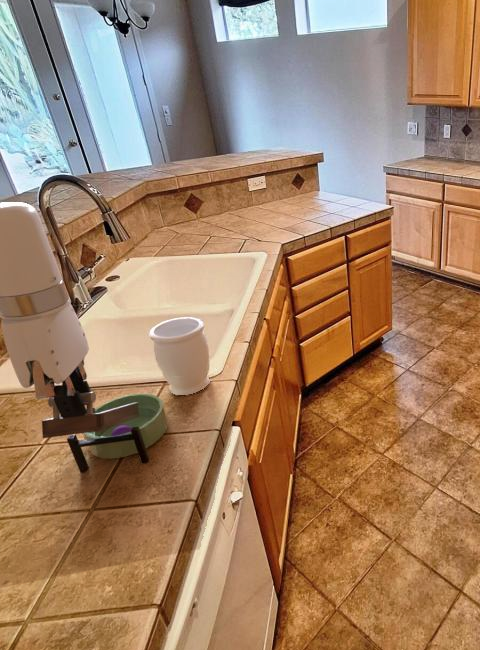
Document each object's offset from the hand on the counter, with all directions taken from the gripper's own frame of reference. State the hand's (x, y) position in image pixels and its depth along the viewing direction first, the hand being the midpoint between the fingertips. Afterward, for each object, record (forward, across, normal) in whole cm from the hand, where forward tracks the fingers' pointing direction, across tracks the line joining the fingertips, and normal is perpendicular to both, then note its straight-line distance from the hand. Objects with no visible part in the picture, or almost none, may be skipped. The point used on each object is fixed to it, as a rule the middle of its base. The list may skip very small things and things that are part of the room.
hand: (78, 409), depth 65 cm
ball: (+12, -9, -1) cm, 15 cm away
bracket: (+16, -5, -1) cm, 17 cm away
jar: (+16, -28, +7) cm, 33 cm away
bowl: (+16, -13, -1) cm, 20 cm away
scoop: (+6, -3, 0) cm, 7 cm away
